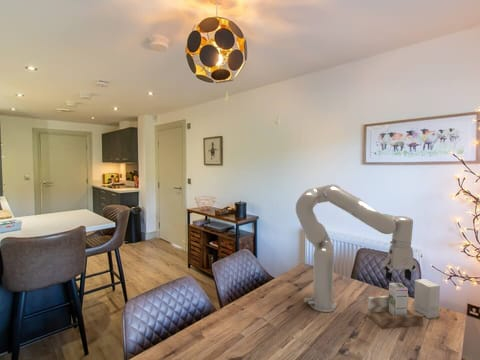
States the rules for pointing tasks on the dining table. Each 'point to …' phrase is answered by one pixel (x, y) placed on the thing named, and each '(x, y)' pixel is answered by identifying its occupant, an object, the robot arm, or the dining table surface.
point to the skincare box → (427, 298)
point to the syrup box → (397, 299)
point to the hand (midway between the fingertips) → (398, 279)
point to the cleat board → (385, 319)
